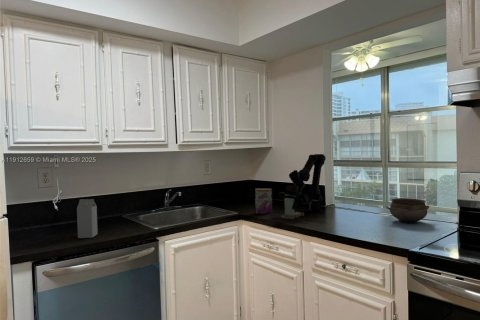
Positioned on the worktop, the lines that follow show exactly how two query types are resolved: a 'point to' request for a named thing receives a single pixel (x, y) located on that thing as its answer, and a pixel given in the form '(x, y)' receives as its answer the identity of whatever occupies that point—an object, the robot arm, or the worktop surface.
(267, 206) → the candy bar box
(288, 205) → the panel
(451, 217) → the worktop surface
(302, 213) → the rack
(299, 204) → the robot arm
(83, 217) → the milk carton
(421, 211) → the cooking pot
